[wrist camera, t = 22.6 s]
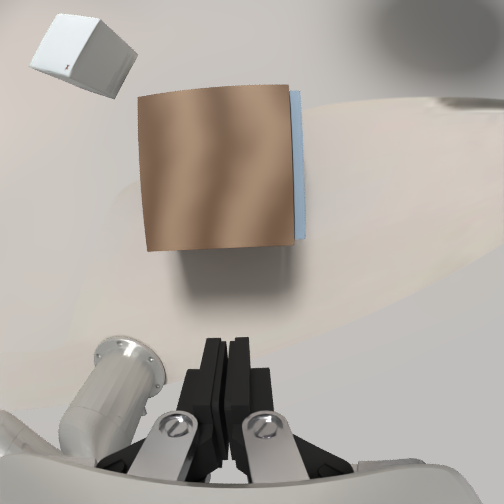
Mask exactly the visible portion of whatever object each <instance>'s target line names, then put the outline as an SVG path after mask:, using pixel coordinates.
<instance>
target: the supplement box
mask: <svg viewBox="0 0 504 504" xmlns="http://www.w3.org/2000/svg"><path fill="white" fill-rule="evenodd" d="M137 56H138V54H137V53H136V52H135V51H134V50H133V49H132V48H131V47H130V46H129V45H128V44H127V43H126V42H125V41H123V40H122V39H121V38H120V37H119V36H118V35H117V34H116V33H115V32H113V30H112V29H110V28H109V27H108V26H107V25H106V24H105V23H104V22H103V21H102V20H101V19H98V18H92V17H85V16H78V15H70V14H57V16H56V17H55V19H54V21H53V22H52V24H51V26H50V27H49V29H48V31H47V33H46V34H45V36H44V38H43V40H42V42H41V44H40V45H39V47H38V49H37V51H36V53H35V55H34V57H33V59H32V61H31V63H30V65H29V67H31V68H33V69H35V70H37V71H40V72H42V73H45V74H48V75H50V76H53V77H55V78H58V79H61V80H63V81H65V82H68V83H70V84H73V85H75V86H77V87H80V88H82V89H85V90H88V91H90V92H93V93H97V94H100V95H103V96H106V97H109V98H112V99H115V97H116V95H117V93H118V91H119V90H120V88H121V86H122V84H123V82H124V80H125V78H126V76H127V74H128V72H129V70H130V69H131V67H132V65H133V63H134V62H135V60H136V58H137Z"/></svg>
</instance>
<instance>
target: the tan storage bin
mask: <svg viewBox="0 0 504 504" xmlns="http://www.w3.org/2000/svg"><path fill="white" fill-rule="evenodd" d="M138 141H139V163H140V180H141V193H142V205H143V216H144V226H145V235H146V244H147V252H151V251H172V250H194V249H216V248H238V247H261V246H285V245H294V203H293V168H292V142H291V120H290V102H289V86H288V85H243V86H225V87H212V88H201V89H191V90H182V91H175V92H167V93H160V94H154V95H148V96H142V97H138Z"/></svg>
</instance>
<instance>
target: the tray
mask: <svg viewBox="0 0 504 504" xmlns="http://www.w3.org/2000/svg"><path fill="white" fill-rule="evenodd" d="M289 102H290V120H291V142H292V168H293V203H294V239H305V192H304V157H303V133H302V114H301V97H300V91H289Z"/></svg>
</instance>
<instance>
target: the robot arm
mask: <svg viewBox="0 0 504 504" xmlns="http://www.w3.org/2000/svg"><path fill="white" fill-rule="evenodd" d="M94 364H95V368H94V370H93V371H92V373H91V374H90V376H89V377H88V379H87V380H86V382H85V383H84V385H83V386H82V388H81V389H80V391H79V392H78V394H77V395H76V397H75V398H74V400H73V401H72V403H71V404H70V406H69V408H68V409H67V410H66V412H65V413H64V415H63V417H62V419H61V421H60V424H59V442H60V448H61V451H60V450H59V449H56V448H55V447H54V446H52V445H51V444H50V443H49V442H47V441H46V440H44V439H43V438H42V437H40V436H39V435H38V434H37V433H35V432H34V431H33V430H31V429H30V428H29V427H28V426H26V425H25V424H24V423H23V422H22V421H20V420H19V419H18V418H16V417H15V416H14V415H12V414H11V413H9V412H7V411H5V410H0V504H482V502H481V500H480V499H479V497H478V495H477V494H476V492H475V491H474V489H473V488H472V487H471V485H470V484H469V483H468V482H467V480H466V479H465V478H464V477H463V476H462V475H461V474H460V473H459V472H458V471H456V470H455V469H453V468H450V467H448V466H444V465H436V464H426V463H425V462H423V461H422V460H419V459H413V458H409V459H399V460H383V461H359V462H358V464H349V463H348V462H347V461H345V460H343V459H341V458H339V457H337V456H335V455H333V454H331V453H329V452H327V451H324V450H323V449H320V448H319V447H316V446H315V445H313V444H311V443H309V442H307V441H305V440H303V439H301V438H299V437H298V436H296V435H294V434H292V432H291V429H290V427H289V424H288V422H287V420H286V419H285V417H283V416H282V415H281V414H279V413H277V412H274V407H273V398H272V388H271V378H270V369H269V368H251V367H250V349H249V337H236V338H235V341H230V346H229V356H228V355H227V345H226V341H221V338H207V339H206V343H205V348H204V352H203V357H202V361H201V366H200V369H188V370H187V372H186V376H185V380H184V383H183V387H182V391H181V395H180V398H179V402H178V405H177V409H176V411H170V412H167V413H165V414H163V415H161V416H160V417H159V418H158V419H157V420H156V422H155V423H154V425H153V427H152V429H151V431H150V432H149V434H148V436H147V437H146V438H144V439H142V440H140V441H138V442H136V443H134V444H132V445H130V444H131V442H132V439H133V436H134V433H135V431H136V428H137V426H138V423H139V420H140V418H141V416H145V415H146V414H147V413H146V410H145V405H146V402H147V399H148V398H151V397H153V396H155V395H157V394H158V393H159V392H160V391H161V389H162V387H163V385H164V381H165V371H164V367H163V365H162V363H161V361H160V359H159V358H158V357H157V355H156V354H155V353H154V352H153V351H152V350H151V349H150V348H148V347H147V346H146V345H144V344H142V343H141V342H139V341H137V340H134V339H132V338H128V337H121V336H116V337H110V338H107V339H106V340H104V341H102V342H101V344H100V345H99V346H98V347H97V349H96V351H95V354H94ZM229 444H230V450H231V456H232V460H235V461H236V467H237V468H238V469H239V470H240V471H242V472H243V473H244V474H246V475H247V479H248V484H216V483H209V482H210V478H211V474H210V473H211V472H213V471H214V470H215V469H217V468H222V460H228V449H229Z"/></svg>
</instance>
